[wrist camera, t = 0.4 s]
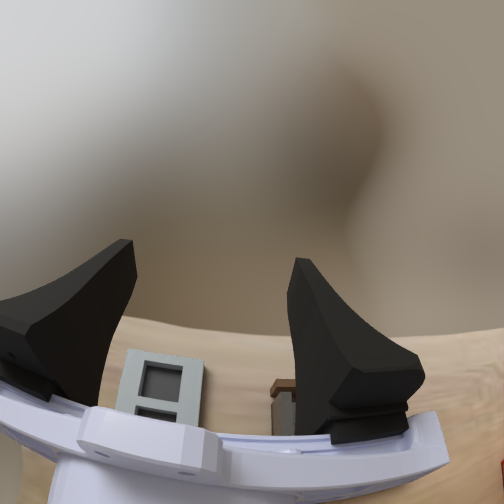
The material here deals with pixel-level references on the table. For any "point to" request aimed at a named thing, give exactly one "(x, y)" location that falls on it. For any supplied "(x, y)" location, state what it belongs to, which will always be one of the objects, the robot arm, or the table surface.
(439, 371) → the table surface
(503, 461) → the medicine box
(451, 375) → the table surface
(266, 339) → the table surface
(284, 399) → the grey piece
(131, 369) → the tray
